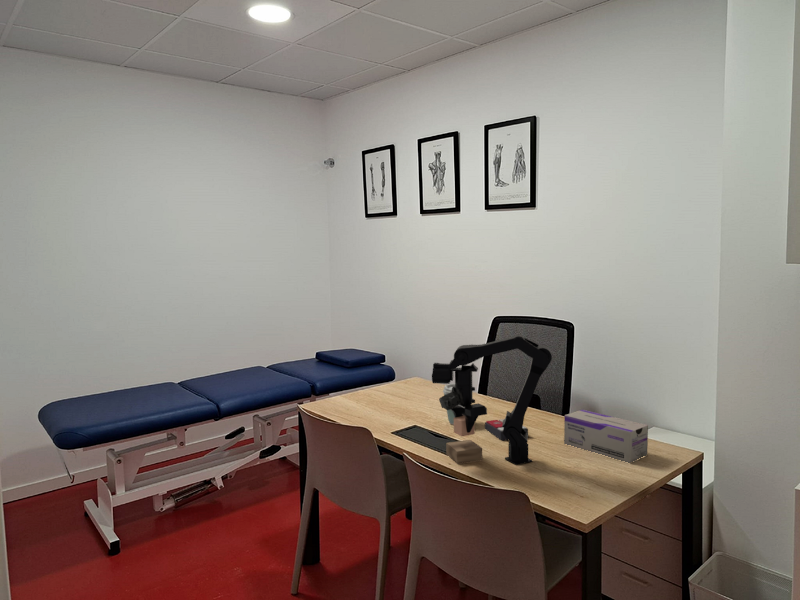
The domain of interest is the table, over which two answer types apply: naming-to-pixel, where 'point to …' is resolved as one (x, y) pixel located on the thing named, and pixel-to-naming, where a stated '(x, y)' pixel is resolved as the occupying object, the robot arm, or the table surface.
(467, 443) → the walnut block
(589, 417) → the surgical sutures box
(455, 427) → the terracotta cube
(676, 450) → the table surface
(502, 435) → the calculator
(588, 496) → the table surface
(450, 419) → the disposable coffee cup
